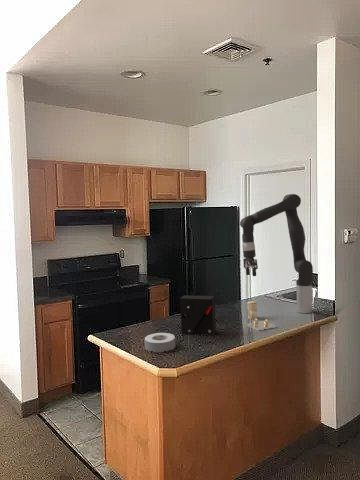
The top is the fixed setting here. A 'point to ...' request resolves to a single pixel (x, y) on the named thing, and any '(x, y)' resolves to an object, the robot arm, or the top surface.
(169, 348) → the tape roll
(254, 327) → the plate
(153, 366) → the top surface
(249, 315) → the block
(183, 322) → the electrical component
